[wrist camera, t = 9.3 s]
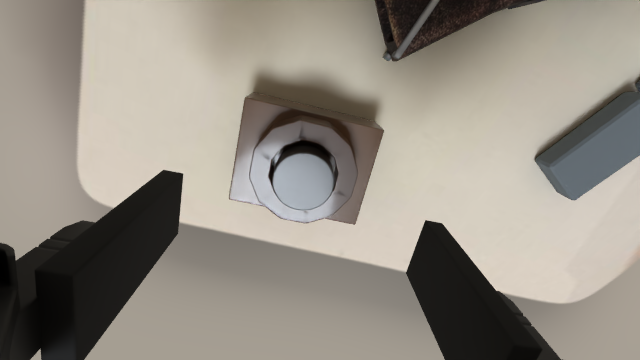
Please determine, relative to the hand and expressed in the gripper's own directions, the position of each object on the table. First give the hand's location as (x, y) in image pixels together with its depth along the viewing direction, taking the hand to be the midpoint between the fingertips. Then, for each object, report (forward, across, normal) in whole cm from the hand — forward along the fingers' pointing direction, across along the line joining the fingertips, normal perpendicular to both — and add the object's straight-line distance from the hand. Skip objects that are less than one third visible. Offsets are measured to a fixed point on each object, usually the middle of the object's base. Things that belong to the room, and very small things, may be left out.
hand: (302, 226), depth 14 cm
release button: (+7, 0, 0) cm, 7 cm away
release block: (+12, 0, 0) cm, 12 cm away
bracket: (+12, +22, +6) cm, 26 cm away
